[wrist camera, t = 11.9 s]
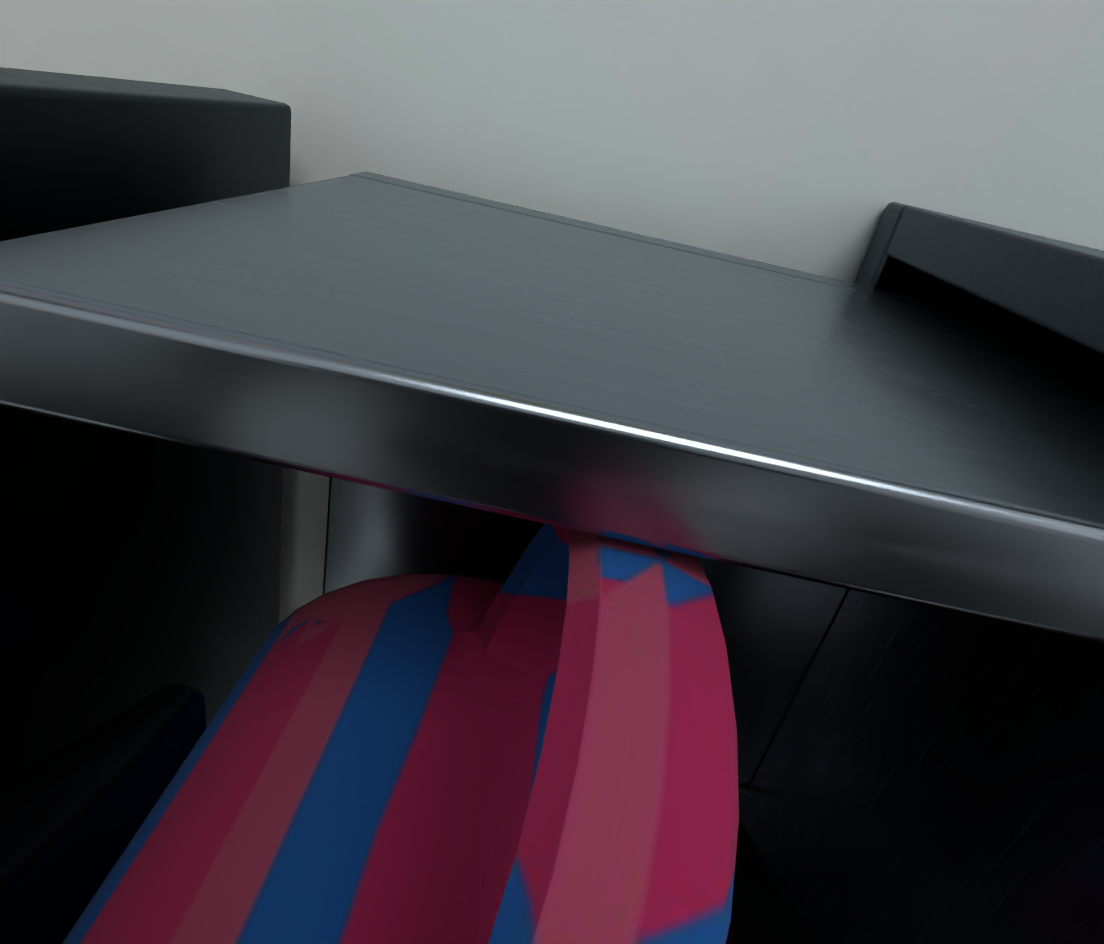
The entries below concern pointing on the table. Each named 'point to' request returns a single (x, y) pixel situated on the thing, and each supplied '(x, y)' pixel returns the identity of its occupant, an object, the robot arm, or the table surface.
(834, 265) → the table surface
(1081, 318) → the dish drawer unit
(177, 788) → the cup
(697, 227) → the table surface
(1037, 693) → the rack drawer
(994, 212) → the table surface
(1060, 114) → the table surface
